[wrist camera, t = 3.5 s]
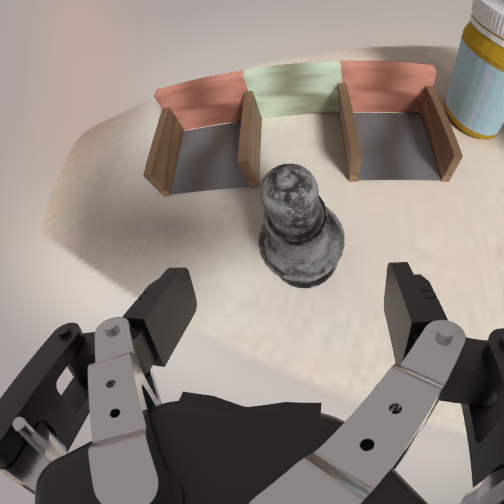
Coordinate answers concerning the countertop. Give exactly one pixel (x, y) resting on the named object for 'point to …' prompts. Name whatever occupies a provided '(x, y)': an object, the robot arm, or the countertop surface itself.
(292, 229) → the grey chess piece
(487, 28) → the bottle
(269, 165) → the countertop surface
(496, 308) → the countertop surface
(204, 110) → the bay rack
